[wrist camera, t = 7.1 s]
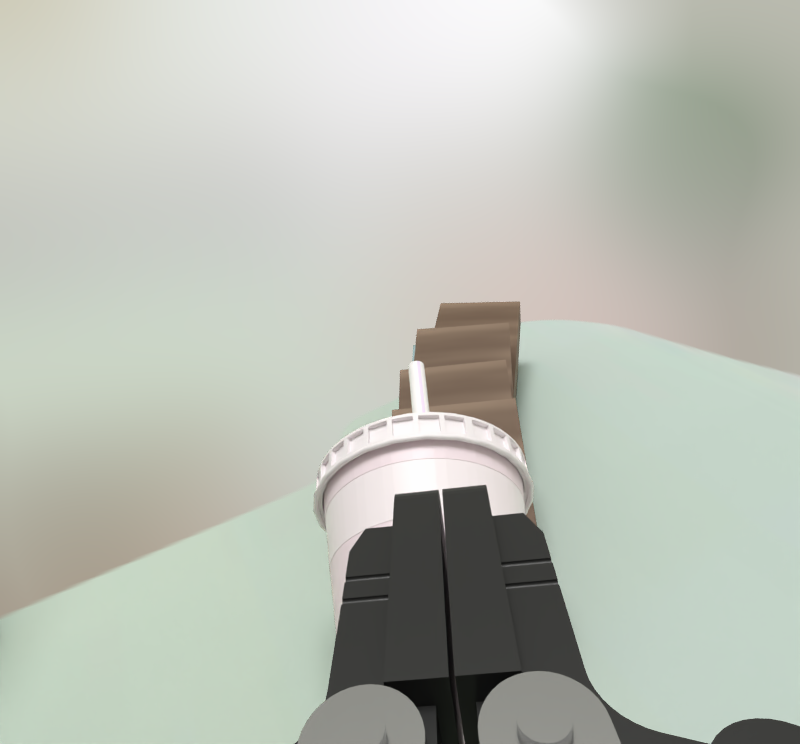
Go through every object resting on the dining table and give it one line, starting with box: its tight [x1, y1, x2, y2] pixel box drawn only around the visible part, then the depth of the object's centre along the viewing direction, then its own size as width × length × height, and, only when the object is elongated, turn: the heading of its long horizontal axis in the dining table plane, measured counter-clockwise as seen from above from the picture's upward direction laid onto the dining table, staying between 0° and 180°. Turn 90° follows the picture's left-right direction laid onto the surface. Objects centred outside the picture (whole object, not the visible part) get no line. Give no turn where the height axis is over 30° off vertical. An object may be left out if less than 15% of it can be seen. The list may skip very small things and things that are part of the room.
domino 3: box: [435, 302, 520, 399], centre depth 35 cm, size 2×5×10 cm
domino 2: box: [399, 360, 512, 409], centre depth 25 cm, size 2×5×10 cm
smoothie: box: [313, 361, 534, 744], centre depth 16 cm, size 6×6×14 cm
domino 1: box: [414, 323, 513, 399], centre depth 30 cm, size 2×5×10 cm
